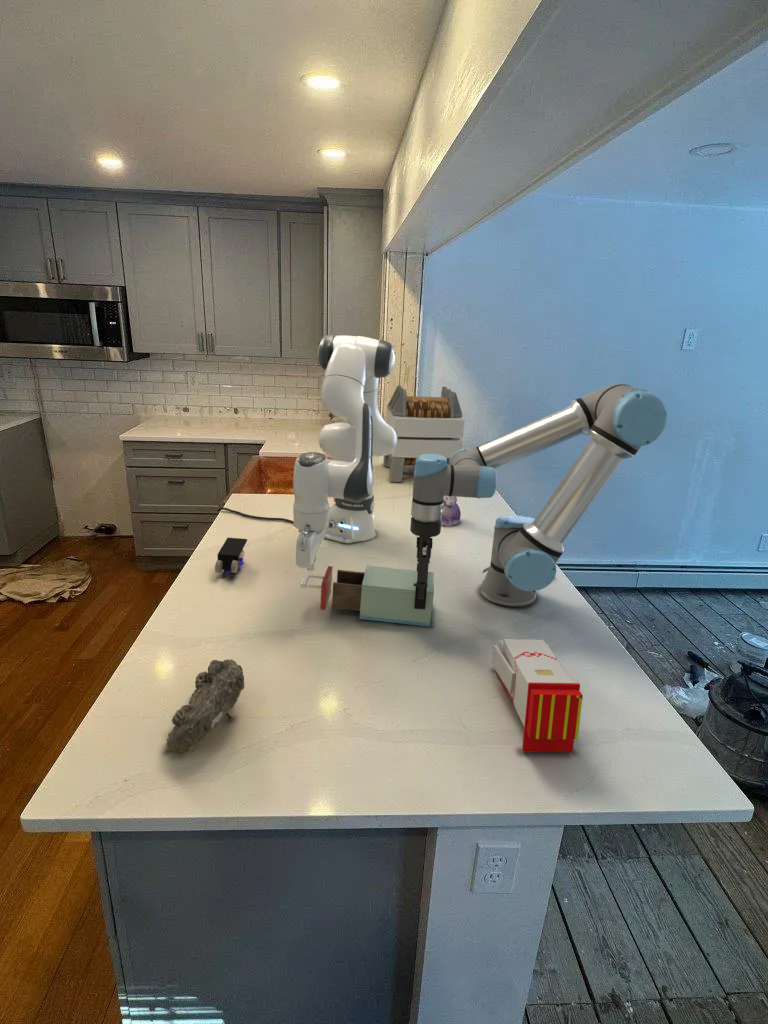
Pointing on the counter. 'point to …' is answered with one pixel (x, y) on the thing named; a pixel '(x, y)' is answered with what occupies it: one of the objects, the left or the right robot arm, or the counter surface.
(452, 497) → the figurine
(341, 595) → the drawer
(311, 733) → the counter surface
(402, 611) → the cabinet
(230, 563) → the figurine character
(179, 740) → the fossil
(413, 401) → the transformer
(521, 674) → the toy
